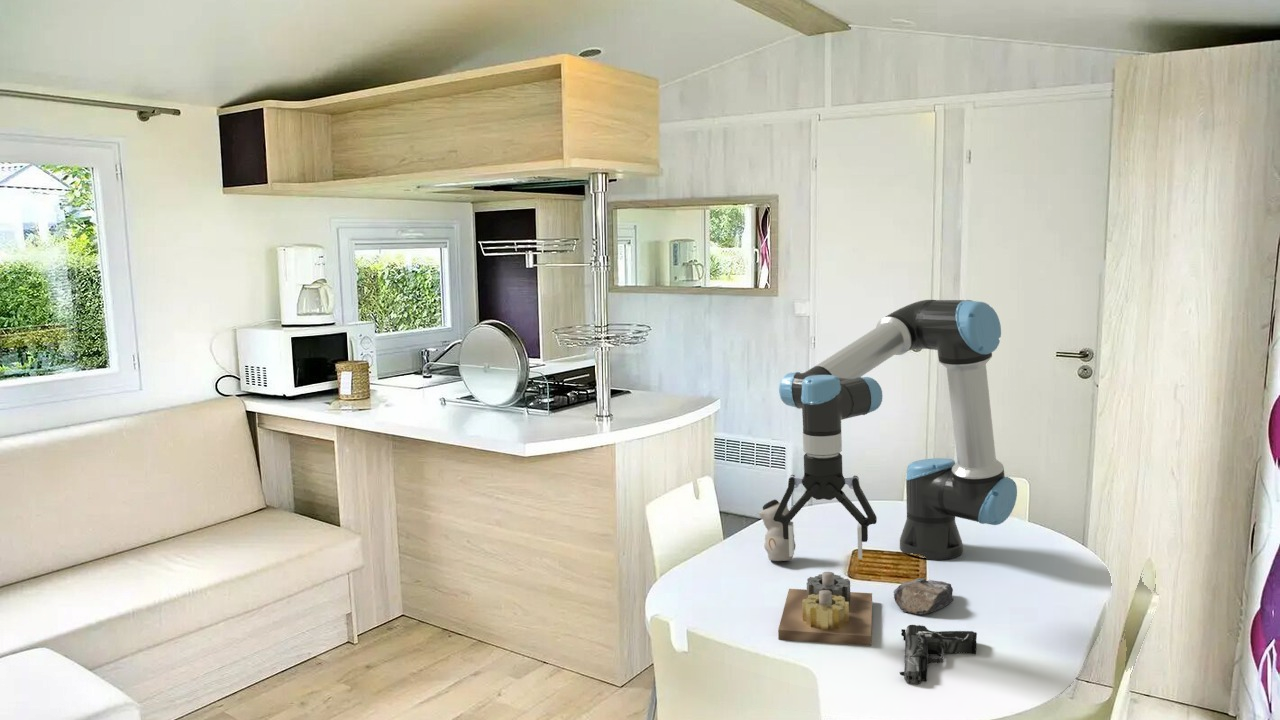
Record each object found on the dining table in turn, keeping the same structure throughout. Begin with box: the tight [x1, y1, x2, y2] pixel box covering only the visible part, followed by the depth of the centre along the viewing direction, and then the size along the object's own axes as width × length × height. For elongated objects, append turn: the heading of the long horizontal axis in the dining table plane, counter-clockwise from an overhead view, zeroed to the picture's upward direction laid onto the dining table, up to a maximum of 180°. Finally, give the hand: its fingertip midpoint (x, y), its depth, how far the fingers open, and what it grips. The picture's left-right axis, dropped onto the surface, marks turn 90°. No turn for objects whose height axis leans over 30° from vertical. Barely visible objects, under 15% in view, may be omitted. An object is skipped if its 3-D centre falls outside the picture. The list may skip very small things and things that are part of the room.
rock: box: [892, 577, 954, 615], centre depth 196 cm, size 14×11×5 cm
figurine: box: [758, 499, 796, 562], centre depth 225 cm, size 9×10×15 cm
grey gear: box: [806, 573, 851, 603], centre depth 194 cm, size 9×9×4 cm
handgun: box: [899, 624, 978, 685], centre depth 169 cm, size 20×3×14 cm
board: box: [777, 571, 873, 647], centre depth 189 cm, size 18×22×8 cm
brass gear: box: [802, 594, 849, 630], centre depth 184 cm, size 9×9×4 cm
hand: (825, 555), depth 183 cm, fingers open, 13 cm apart
